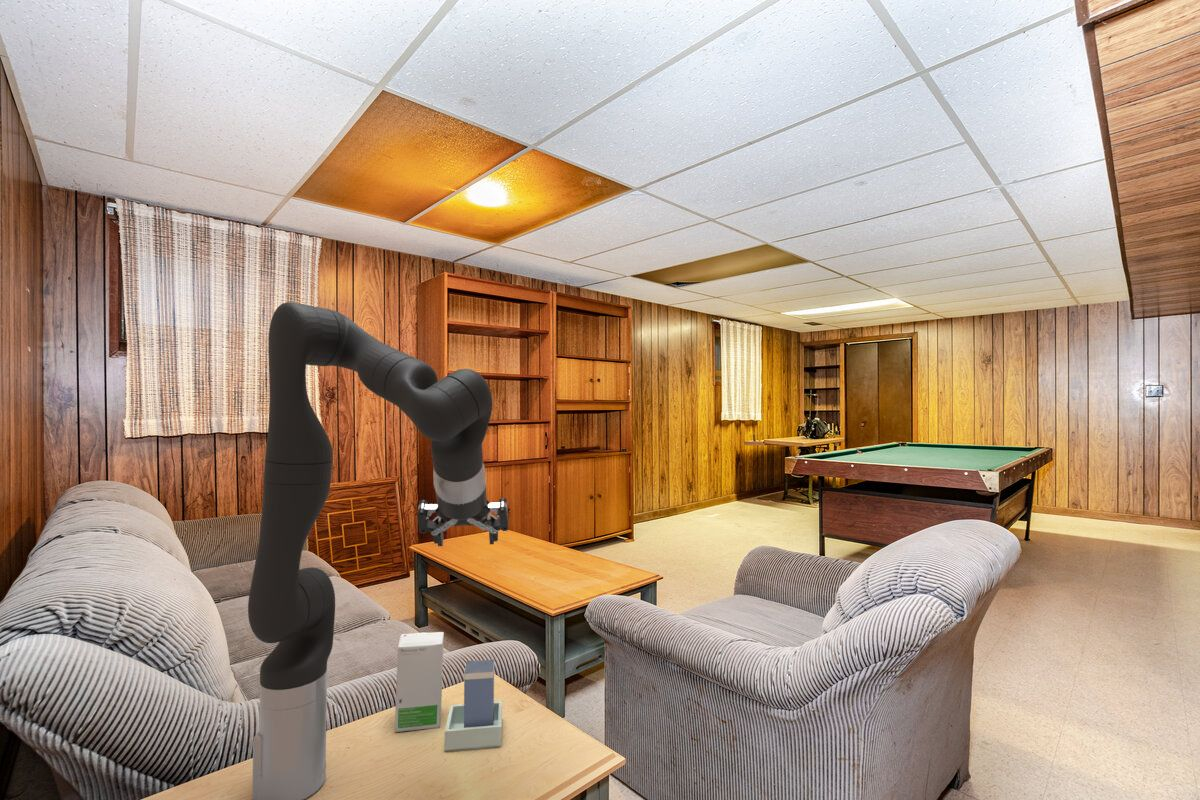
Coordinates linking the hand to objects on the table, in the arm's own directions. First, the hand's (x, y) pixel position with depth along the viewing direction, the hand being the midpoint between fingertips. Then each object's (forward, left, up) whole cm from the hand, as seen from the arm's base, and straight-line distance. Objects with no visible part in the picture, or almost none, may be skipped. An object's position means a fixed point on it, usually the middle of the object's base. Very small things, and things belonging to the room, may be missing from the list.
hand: (466, 540), depth 94 cm
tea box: (+2, +6, -36) cm, 37 cm away
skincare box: (-10, +13, -37) cm, 40 cm away
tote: (+1, +6, -37) cm, 37 cm away
